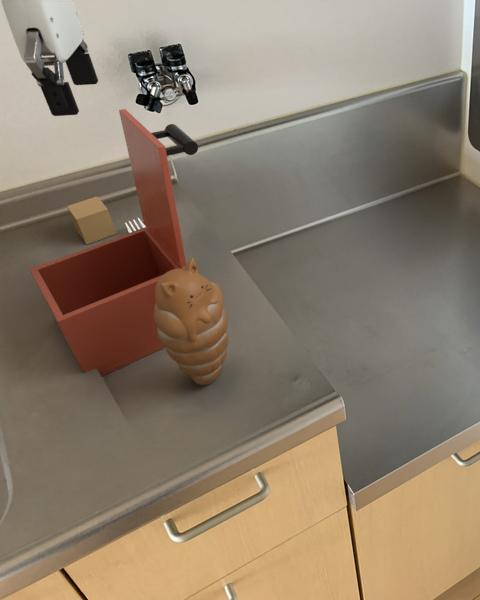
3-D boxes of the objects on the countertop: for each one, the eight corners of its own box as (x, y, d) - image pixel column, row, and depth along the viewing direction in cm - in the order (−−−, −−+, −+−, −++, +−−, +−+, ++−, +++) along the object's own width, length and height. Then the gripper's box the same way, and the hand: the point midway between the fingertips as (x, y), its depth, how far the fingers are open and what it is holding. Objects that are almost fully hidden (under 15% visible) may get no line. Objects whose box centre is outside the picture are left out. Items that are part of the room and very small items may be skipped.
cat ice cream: (212, 413, 75) (176, 303, 63) (162, 392, 77) (119, 282, 65) (254, 365, 81) (229, 256, 69) (207, 347, 83) (175, 238, 71)
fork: (174, 292, 92) (171, 282, 91) (125, 232, 103) (122, 223, 102) (194, 283, 93) (191, 273, 92) (144, 225, 105) (141, 216, 104)
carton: (86, 244, 101) (75, 219, 97) (77, 231, 104) (66, 206, 100) (116, 233, 103) (107, 208, 100) (106, 220, 106) (97, 196, 103)
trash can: (88, 382, 78) (57, 321, 71) (60, 329, 86) (29, 268, 79) (202, 330, 86) (184, 269, 78) (167, 284, 93) (147, 226, 86)
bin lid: (158, 147, 68) (207, 136, 71) (118, 109, 75) (164, 101, 78) (180, 268, 78) (223, 254, 81) (143, 224, 85) (183, 213, 88)
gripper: (14, -63, 75) (66, 75, 87) (-45, -26, 63) (25, 129, 74) (77, -65, 76) (120, 72, 87) (31, -29, 63) (89, 126, 75)
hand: (76, 98), depth 81 cm, fingers open, 9 cm apart
